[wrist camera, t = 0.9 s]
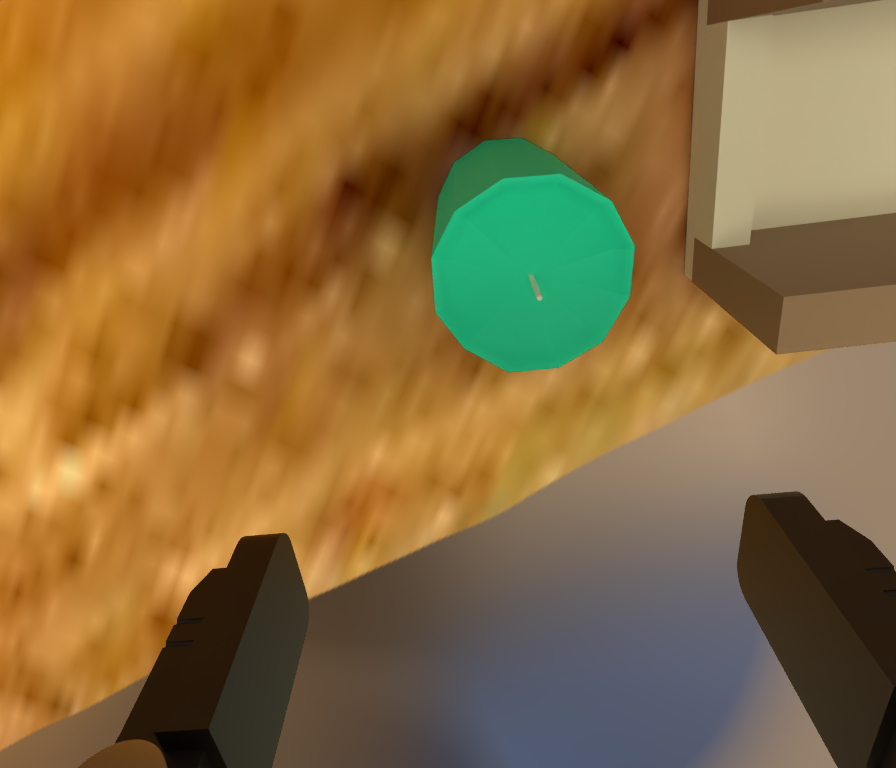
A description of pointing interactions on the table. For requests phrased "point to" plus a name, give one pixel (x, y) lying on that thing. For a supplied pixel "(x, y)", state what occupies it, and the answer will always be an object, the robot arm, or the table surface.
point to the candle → (527, 257)
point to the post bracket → (796, 169)
